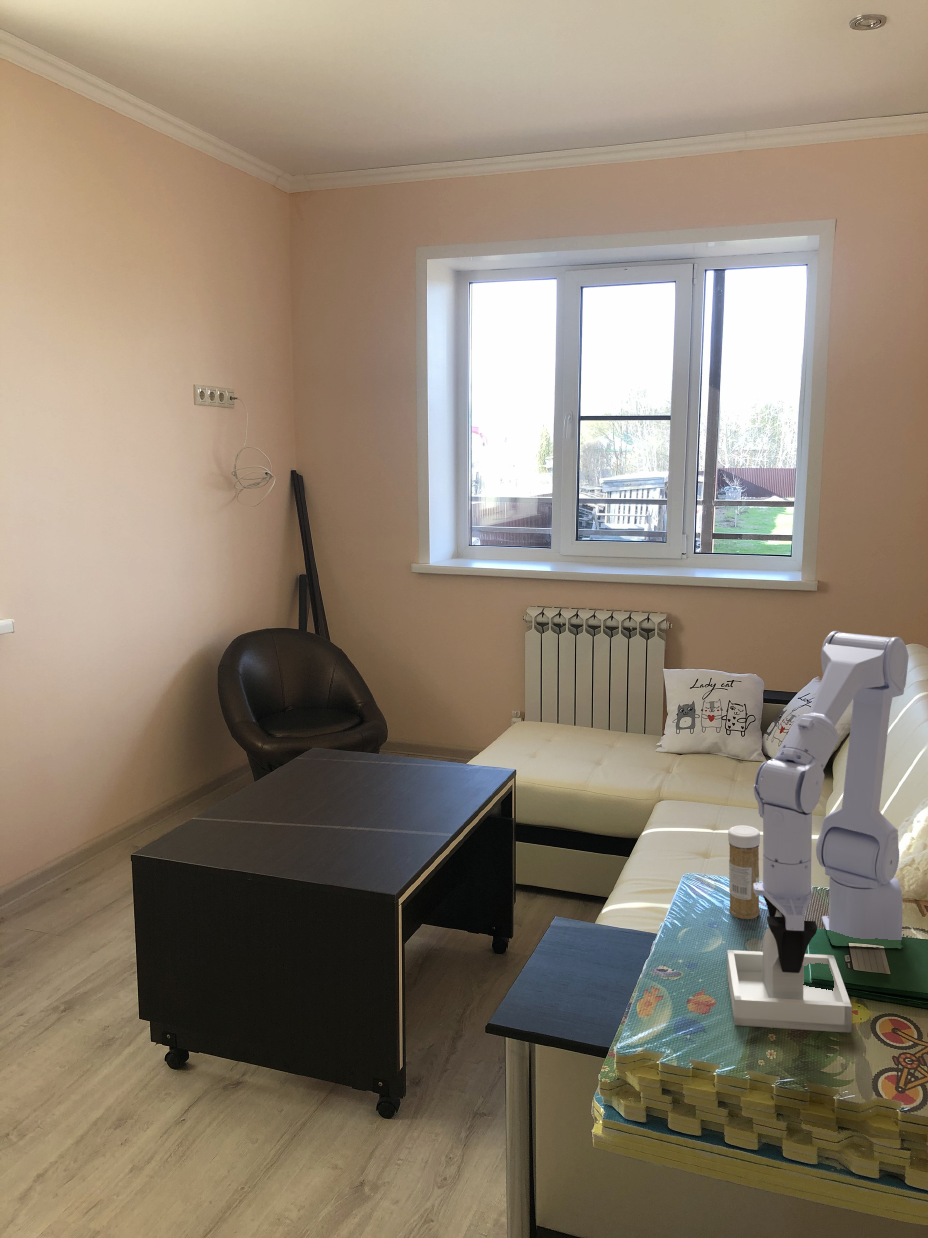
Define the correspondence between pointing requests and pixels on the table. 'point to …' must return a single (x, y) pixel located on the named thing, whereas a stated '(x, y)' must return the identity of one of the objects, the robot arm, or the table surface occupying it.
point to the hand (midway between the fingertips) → (786, 954)
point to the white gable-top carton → (779, 972)
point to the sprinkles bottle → (743, 871)
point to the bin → (807, 1014)
